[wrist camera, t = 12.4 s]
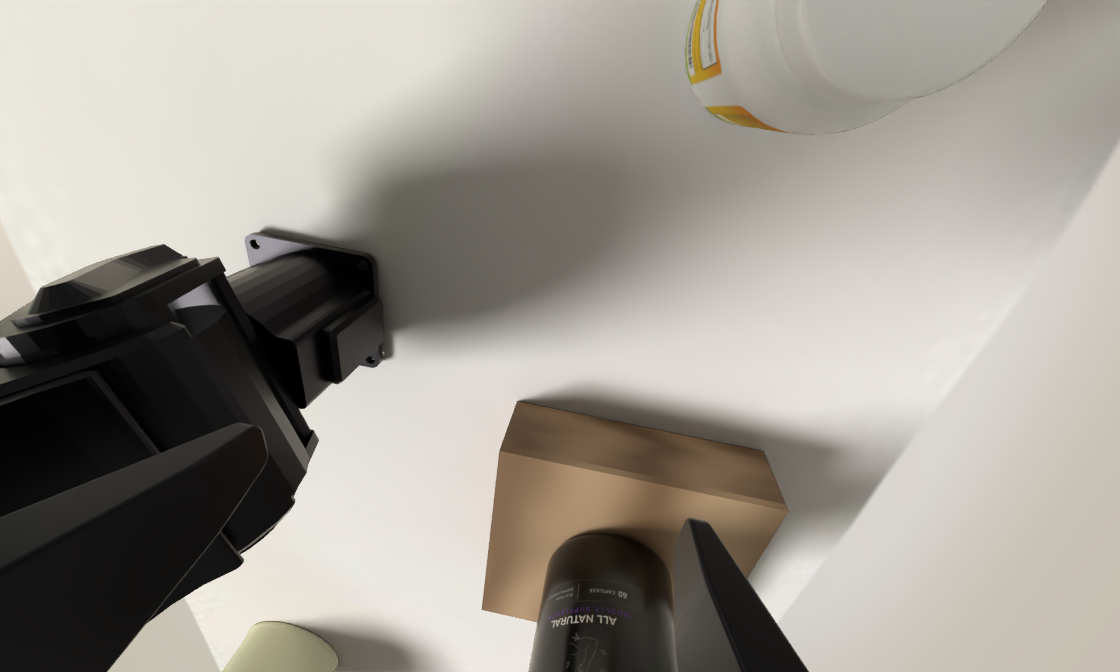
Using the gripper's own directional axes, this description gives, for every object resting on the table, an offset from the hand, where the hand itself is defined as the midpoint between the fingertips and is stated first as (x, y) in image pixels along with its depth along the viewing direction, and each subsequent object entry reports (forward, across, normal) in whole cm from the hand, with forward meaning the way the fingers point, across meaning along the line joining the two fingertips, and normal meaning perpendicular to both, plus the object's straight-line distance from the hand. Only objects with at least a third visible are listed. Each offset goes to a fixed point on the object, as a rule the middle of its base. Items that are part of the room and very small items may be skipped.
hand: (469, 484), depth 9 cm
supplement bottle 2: (+13, -6, -10) cm, 18 cm away
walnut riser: (+13, -6, +15) cm, 21 cm away
